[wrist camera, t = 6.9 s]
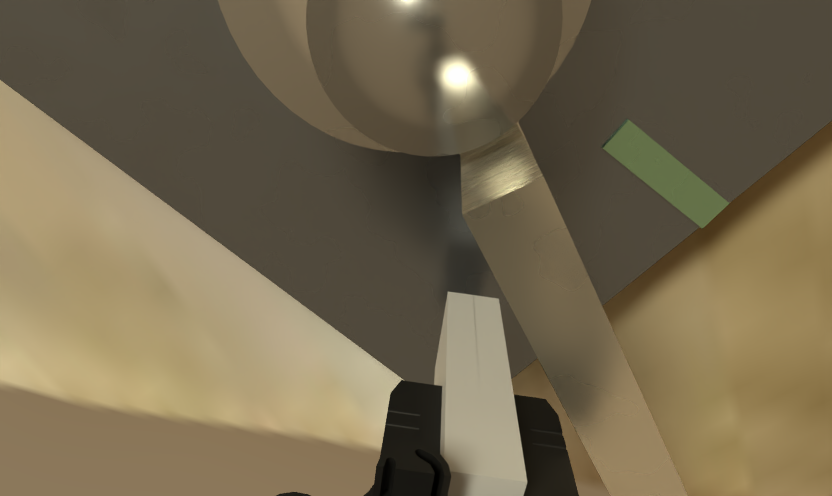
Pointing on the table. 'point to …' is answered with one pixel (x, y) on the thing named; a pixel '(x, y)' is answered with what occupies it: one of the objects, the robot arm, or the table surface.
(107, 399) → the table surface
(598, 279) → the stand
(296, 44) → the silver ladle
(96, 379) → the table surface
